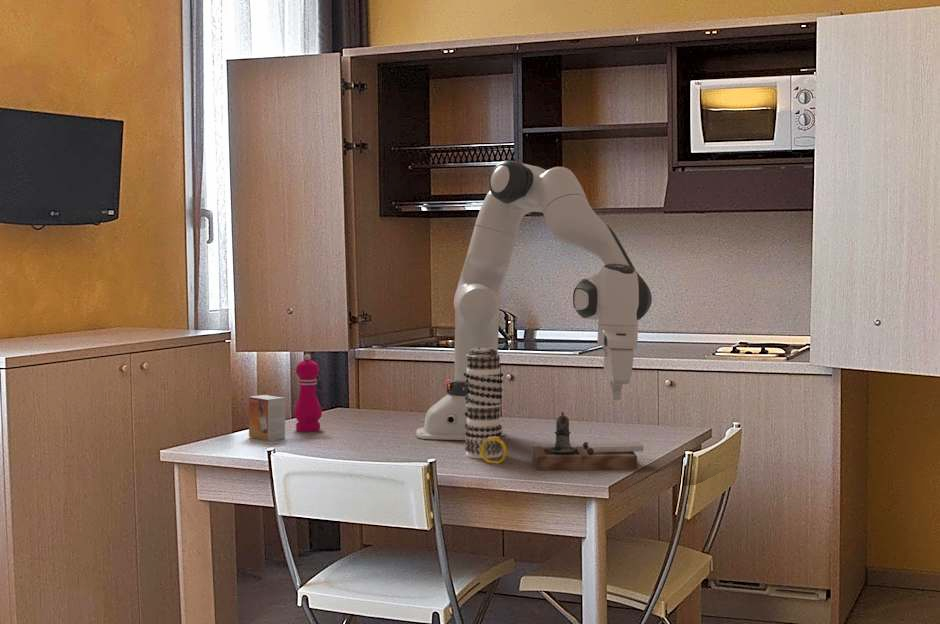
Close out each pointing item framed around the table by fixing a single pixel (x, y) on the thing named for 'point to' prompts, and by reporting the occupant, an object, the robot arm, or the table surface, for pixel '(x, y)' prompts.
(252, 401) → the small box
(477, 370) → the decorative candle
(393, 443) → the table surface
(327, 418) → the table surface
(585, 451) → the walnut holder
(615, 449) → the latch bar
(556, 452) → the weathered chess piece
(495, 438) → the yellow faceted ring
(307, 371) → the pepper mill
